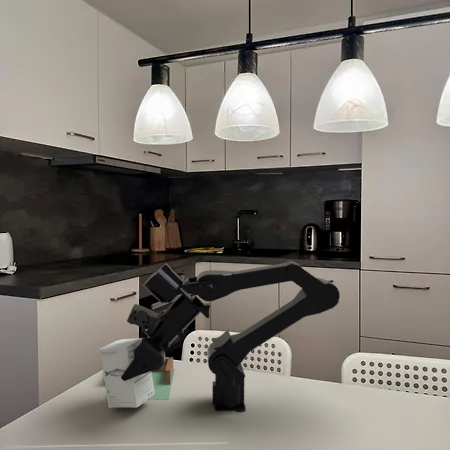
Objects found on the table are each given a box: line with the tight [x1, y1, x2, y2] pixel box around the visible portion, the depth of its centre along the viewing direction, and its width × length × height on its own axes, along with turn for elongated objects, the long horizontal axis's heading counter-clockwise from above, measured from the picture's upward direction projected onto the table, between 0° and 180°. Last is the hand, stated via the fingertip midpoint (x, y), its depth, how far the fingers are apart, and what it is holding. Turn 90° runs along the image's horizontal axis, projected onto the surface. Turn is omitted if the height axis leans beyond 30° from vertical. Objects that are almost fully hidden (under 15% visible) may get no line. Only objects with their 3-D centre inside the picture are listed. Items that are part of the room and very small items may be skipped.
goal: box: [151, 356, 174, 385], centre depth 107 cm, size 14×9×4 cm, turn 92°
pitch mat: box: [102, 368, 176, 402], centre depth 103 cm, size 14×18×1 cm
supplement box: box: [99, 337, 155, 409], centre depth 91 cm, size 7×7×13 cm
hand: (125, 370), depth 90 cm, fingers closed on supplement box, 9 cm apart
